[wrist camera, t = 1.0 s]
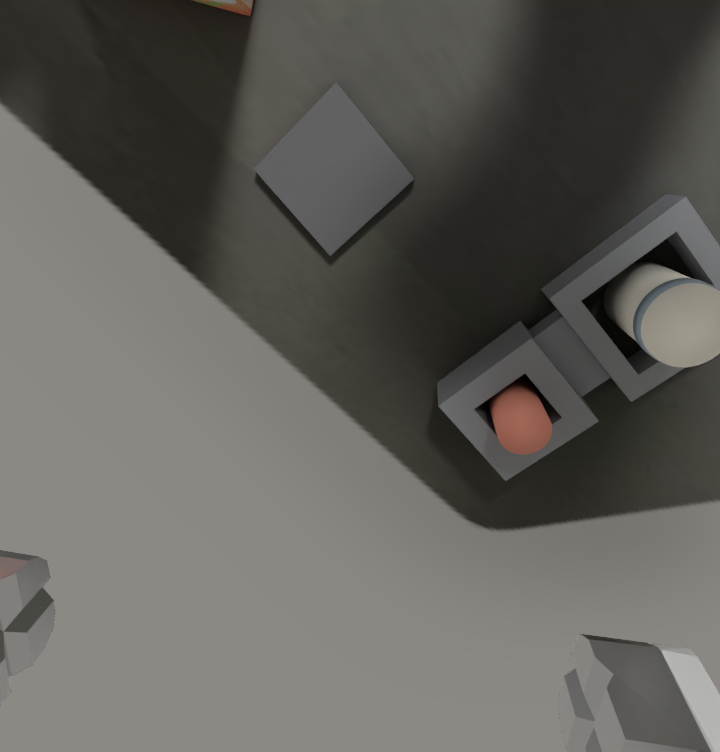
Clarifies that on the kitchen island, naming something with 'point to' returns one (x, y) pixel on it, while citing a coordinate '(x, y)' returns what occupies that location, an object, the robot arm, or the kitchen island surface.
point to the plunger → (520, 418)
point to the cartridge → (666, 313)
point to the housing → (575, 339)
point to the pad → (333, 170)
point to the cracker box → (231, 5)
